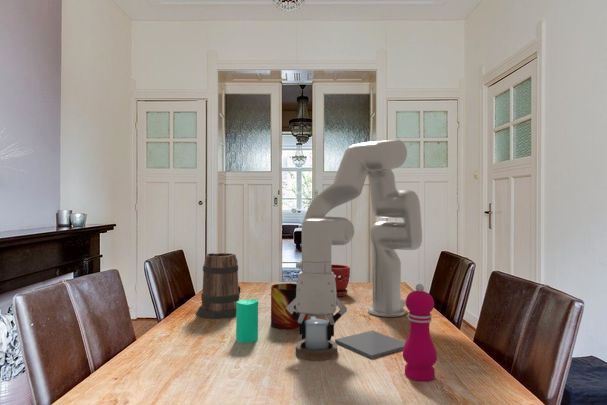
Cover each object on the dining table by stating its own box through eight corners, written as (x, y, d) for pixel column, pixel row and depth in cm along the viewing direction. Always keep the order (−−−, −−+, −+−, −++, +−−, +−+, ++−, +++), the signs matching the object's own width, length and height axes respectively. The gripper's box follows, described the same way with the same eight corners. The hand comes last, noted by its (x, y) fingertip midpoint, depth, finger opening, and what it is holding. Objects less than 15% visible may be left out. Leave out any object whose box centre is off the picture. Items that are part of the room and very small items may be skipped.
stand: (325, 343, 109) (325, 336, 109) (345, 356, 99) (345, 349, 99) (289, 348, 105) (289, 341, 105) (306, 363, 95) (306, 355, 95)
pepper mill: (398, 369, 92) (398, 281, 92) (429, 368, 93) (429, 280, 93) (409, 383, 85) (409, 287, 85) (442, 382, 85) (442, 287, 85)
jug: (330, 353, 100) (330, 325, 100) (306, 354, 100) (306, 326, 100) (323, 340, 110) (323, 314, 110) (301, 341, 110) (301, 315, 110)
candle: (261, 336, 114) (261, 294, 114) (252, 343, 108) (252, 298, 108) (242, 334, 116) (242, 292, 116) (232, 341, 110) (232, 297, 110)
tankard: (233, 321, 129) (233, 258, 129) (185, 317, 133) (185, 256, 133) (258, 303, 152) (258, 250, 152) (217, 300, 156) (217, 248, 156)
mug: (306, 333, 117) (307, 292, 117) (265, 327, 123) (265, 287, 123) (319, 324, 126) (319, 286, 126) (279, 319, 132) (280, 282, 132)
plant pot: (351, 298, 161) (351, 268, 161) (318, 298, 161) (318, 268, 162) (348, 291, 174) (348, 263, 174) (317, 291, 175) (317, 263, 175)
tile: (372, 333, 118) (372, 330, 118) (410, 347, 106) (410, 344, 106) (335, 342, 110) (335, 339, 110) (371, 358, 98) (371, 355, 98)
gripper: (280, 269, 100) (280, 341, 100) (350, 270, 98) (350, 345, 98) (285, 264, 108) (285, 332, 108) (351, 265, 105) (351, 335, 105)
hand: (316, 337), depth 103 cm, fingers closed on jug, 6 cm apart
